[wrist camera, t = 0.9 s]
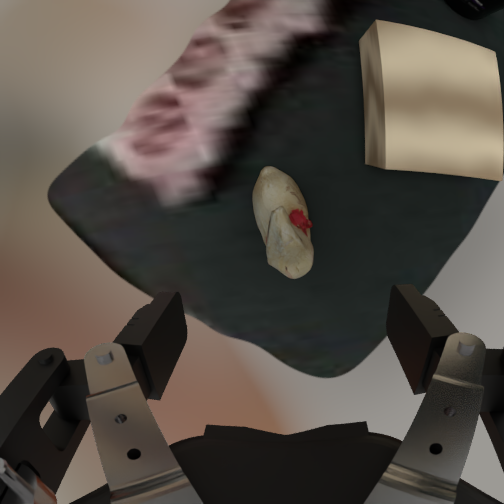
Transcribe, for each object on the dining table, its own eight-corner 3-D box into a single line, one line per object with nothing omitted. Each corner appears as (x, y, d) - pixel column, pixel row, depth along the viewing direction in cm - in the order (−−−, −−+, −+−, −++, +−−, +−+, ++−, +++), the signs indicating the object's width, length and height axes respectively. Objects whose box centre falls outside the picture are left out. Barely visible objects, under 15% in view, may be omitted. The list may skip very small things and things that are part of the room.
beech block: (358, 41, 22) (375, 19, 16) (463, 62, 21) (495, 51, 15) (364, 163, 26) (385, 169, 20) (468, 172, 25) (502, 181, 19)
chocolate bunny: (246, 246, 29) (231, 295, 20) (257, 163, 27) (244, 173, 17) (304, 255, 29) (314, 307, 20) (318, 173, 26) (339, 188, 17)
